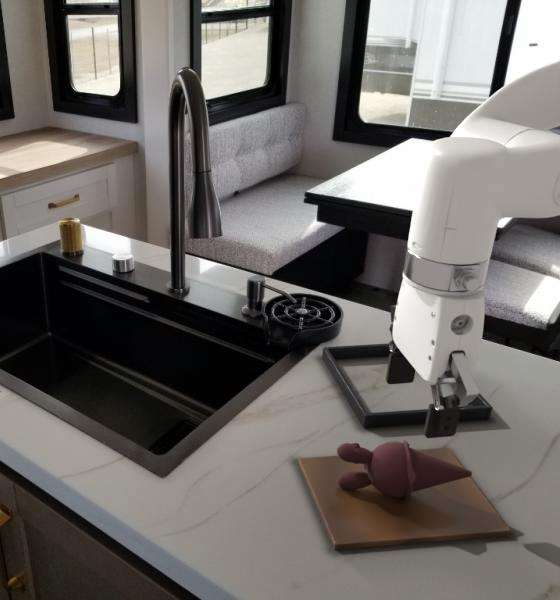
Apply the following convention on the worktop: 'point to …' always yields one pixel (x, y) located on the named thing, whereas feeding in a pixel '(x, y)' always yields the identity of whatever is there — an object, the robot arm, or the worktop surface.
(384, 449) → the icecream
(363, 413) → the black square frame
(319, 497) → the board
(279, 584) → the worktop surface
